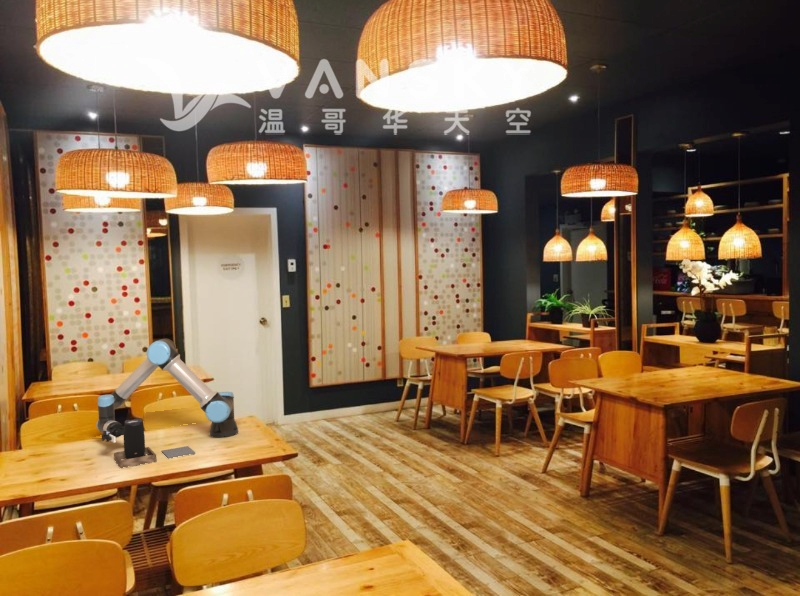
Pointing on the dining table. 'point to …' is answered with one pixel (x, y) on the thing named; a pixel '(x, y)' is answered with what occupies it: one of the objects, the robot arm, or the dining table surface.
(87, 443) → the dining table surface
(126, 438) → the portable speaker
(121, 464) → the walnut collar
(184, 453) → the rubber mat
